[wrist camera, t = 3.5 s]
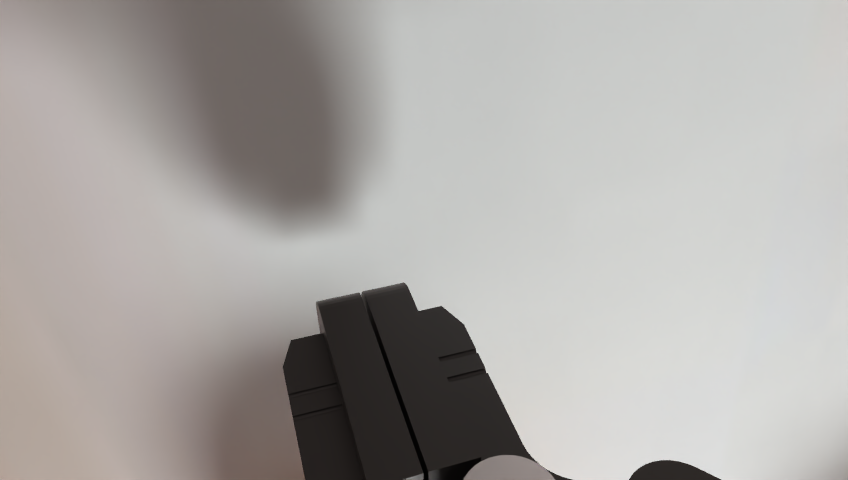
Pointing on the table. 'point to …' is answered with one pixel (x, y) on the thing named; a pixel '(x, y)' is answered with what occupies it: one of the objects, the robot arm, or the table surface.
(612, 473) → the table surface
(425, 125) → the table surface
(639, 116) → the table surface
